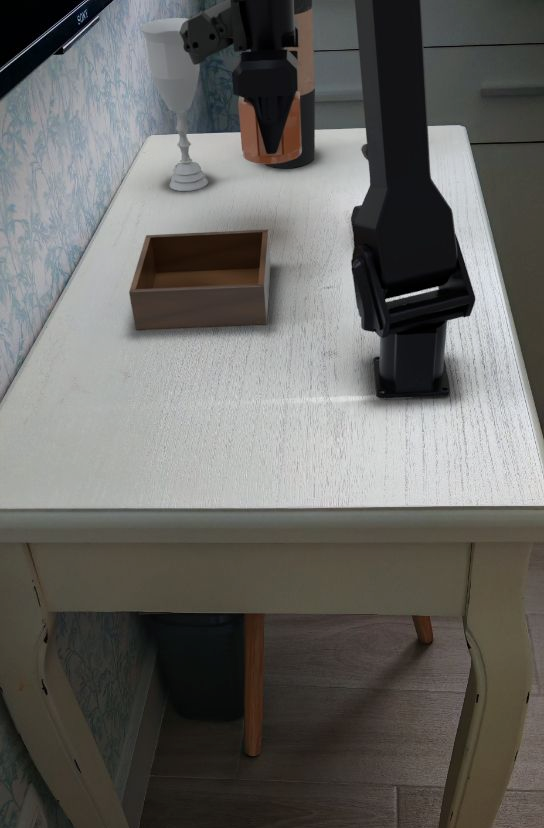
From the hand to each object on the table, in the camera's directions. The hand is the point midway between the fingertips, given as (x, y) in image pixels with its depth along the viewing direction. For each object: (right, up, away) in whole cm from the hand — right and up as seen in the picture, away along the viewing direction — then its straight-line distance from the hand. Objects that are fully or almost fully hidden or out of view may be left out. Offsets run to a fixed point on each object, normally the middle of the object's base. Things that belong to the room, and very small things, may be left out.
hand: (272, 142), depth 99 cm
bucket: (0, -1, +1) cm, 1 cm away
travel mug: (+2, +10, +26) cm, 28 cm away
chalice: (-11, +5, +21) cm, 25 cm away
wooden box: (-7, -18, -2) cm, 19 cm away
